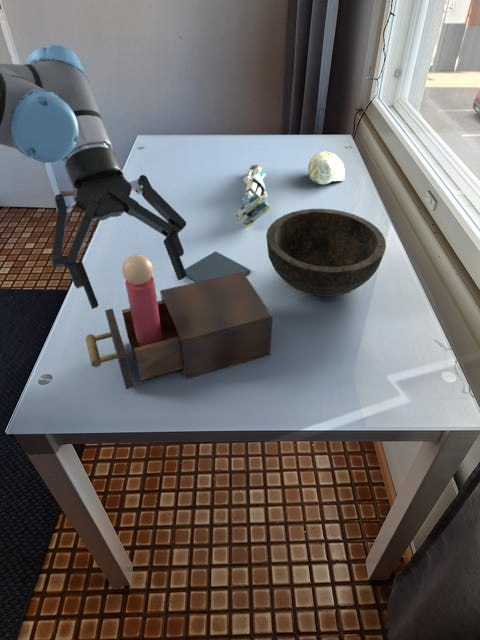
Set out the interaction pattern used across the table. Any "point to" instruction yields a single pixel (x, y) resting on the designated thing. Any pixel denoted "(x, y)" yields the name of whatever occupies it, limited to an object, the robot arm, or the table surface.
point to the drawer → (147, 357)
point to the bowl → (324, 250)
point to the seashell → (325, 168)
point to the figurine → (253, 196)
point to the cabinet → (219, 323)
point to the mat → (214, 268)
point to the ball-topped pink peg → (142, 299)
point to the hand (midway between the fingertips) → (140, 292)
